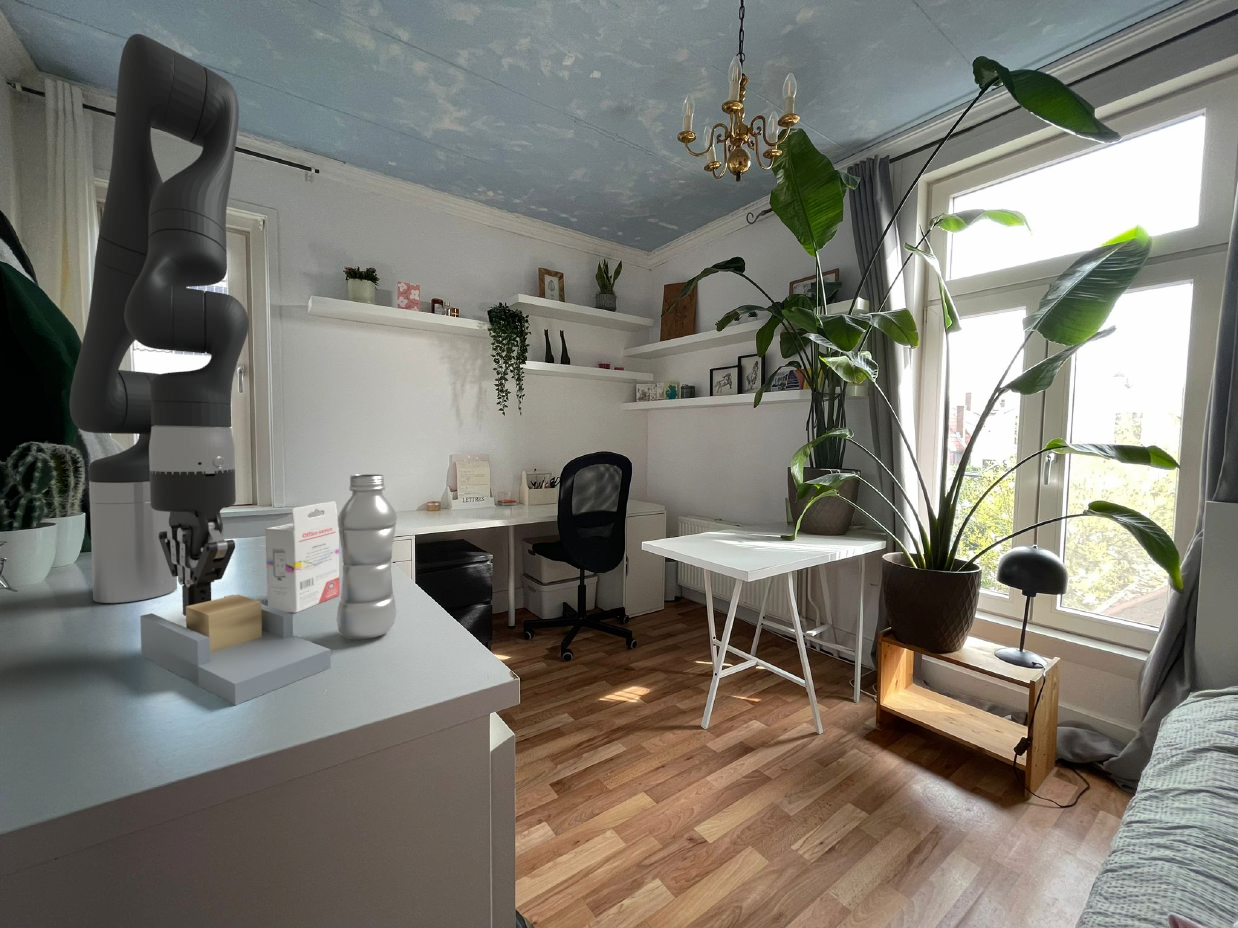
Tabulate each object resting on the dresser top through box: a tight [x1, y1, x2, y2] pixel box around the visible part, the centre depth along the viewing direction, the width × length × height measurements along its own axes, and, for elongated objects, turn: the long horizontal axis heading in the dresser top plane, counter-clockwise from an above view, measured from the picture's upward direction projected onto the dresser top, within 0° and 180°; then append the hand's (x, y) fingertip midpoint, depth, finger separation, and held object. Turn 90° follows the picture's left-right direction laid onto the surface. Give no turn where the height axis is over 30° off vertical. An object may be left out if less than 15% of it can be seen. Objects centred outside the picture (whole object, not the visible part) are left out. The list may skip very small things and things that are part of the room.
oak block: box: [185, 594, 262, 653], centre depth 57 cm, size 5×5×4 cm
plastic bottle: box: [336, 473, 398, 640], centre depth 63 cm, size 6×7×20 cm
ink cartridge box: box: [264, 500, 341, 614], centre depth 75 cm, size 9×5×15 cm, turn 168°
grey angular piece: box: [139, 594, 331, 706], centre depth 56 cm, size 20×9×4 cm, turn 61°
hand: (197, 615), depth 59 cm, fingers closed
